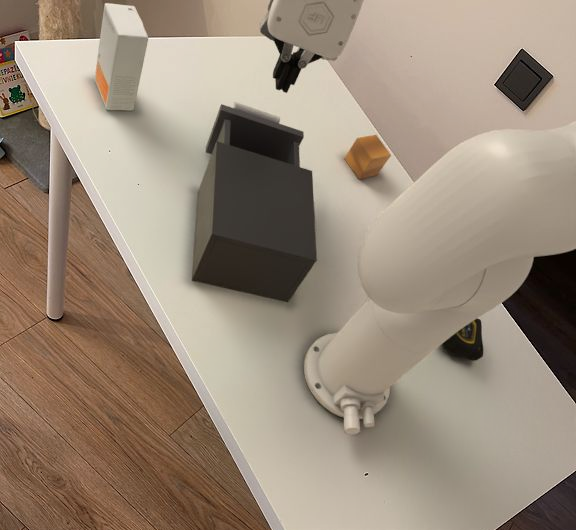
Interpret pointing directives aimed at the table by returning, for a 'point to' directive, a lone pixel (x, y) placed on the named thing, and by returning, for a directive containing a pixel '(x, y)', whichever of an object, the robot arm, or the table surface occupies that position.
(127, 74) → the cosmetic box
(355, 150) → the block
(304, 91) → the table surface
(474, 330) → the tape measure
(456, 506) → the table surface
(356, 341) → the robot arm
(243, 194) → the drawer cabinet
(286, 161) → the dark grey box
